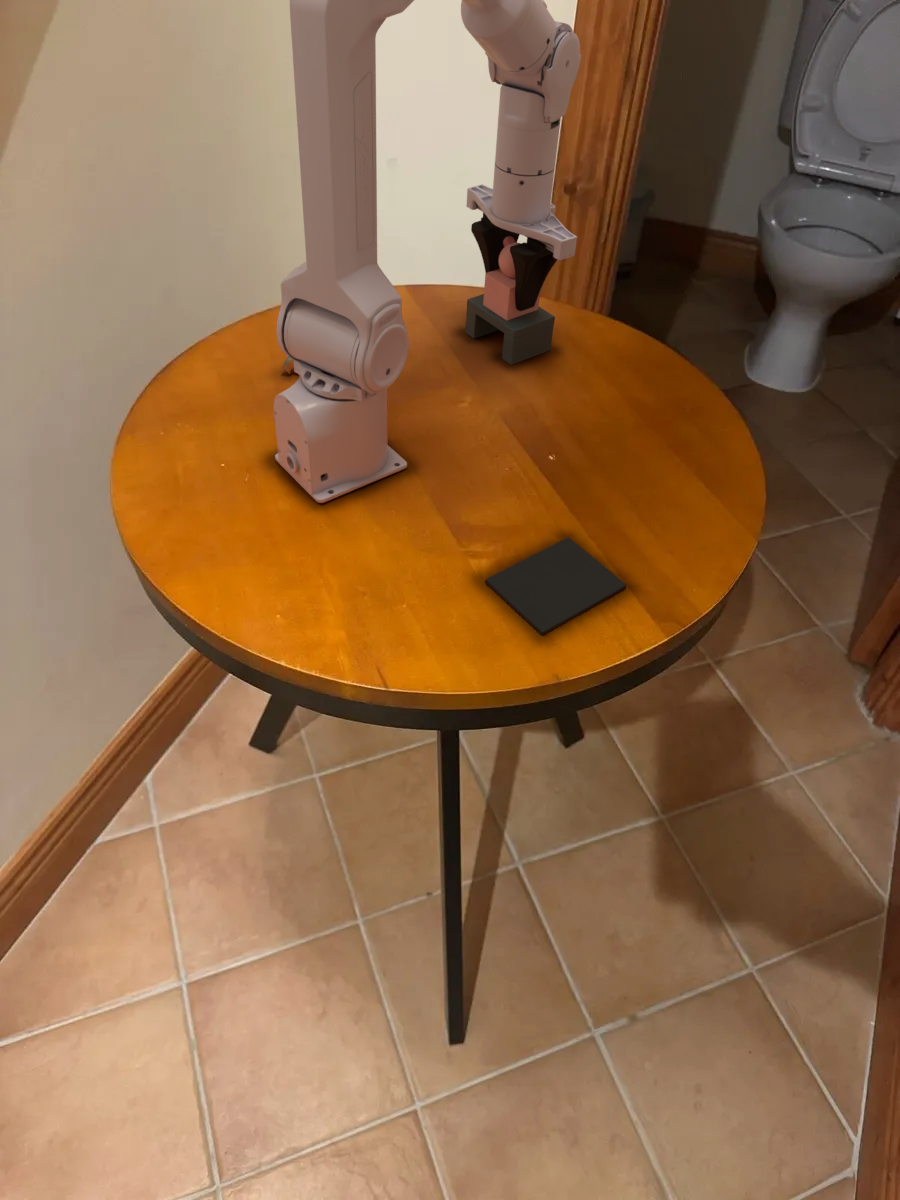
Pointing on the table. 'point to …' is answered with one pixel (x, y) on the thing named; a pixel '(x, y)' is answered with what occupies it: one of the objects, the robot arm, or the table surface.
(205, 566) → the table surface
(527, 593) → the mat
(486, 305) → the toy
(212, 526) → the table surface
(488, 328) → the grey step stool
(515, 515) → the table surface
